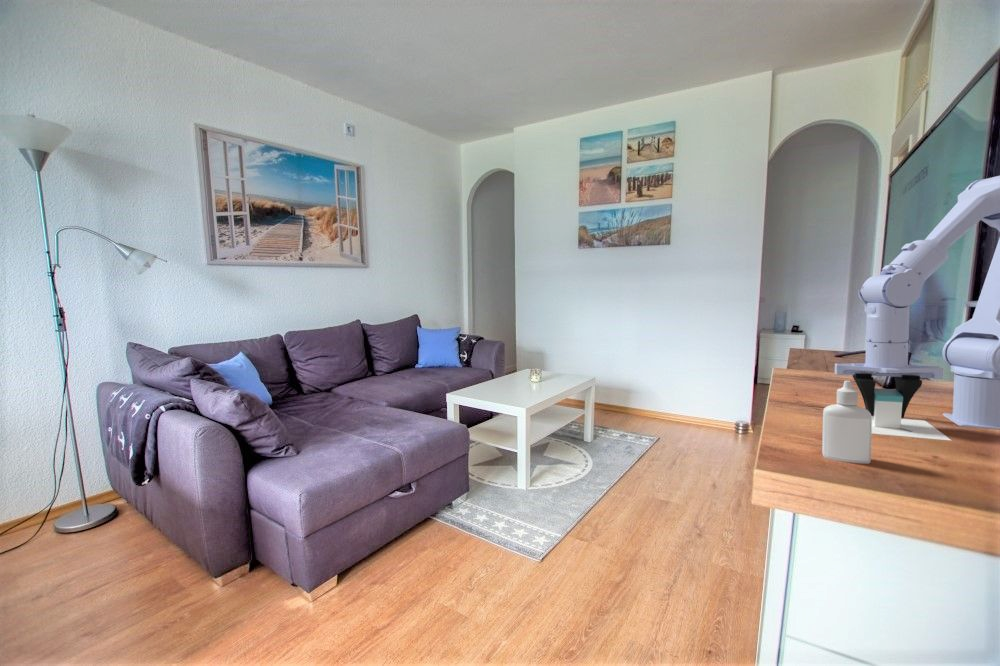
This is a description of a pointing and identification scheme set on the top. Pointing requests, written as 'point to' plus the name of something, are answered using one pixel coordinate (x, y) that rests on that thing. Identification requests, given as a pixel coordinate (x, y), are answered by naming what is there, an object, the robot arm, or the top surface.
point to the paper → (912, 430)
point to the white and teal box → (887, 408)
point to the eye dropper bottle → (847, 428)
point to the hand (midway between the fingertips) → (884, 415)
